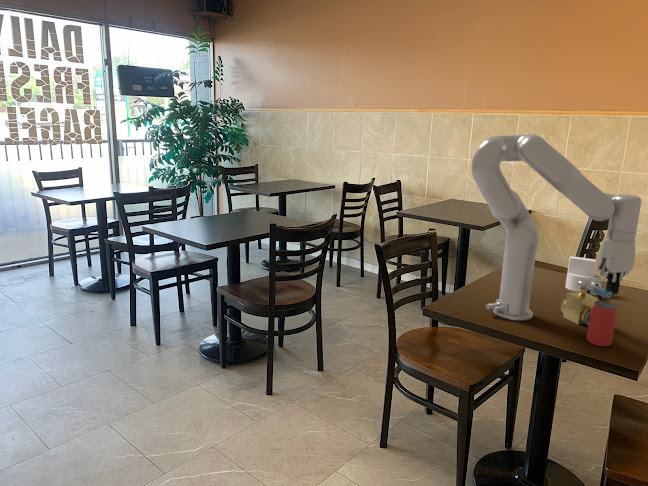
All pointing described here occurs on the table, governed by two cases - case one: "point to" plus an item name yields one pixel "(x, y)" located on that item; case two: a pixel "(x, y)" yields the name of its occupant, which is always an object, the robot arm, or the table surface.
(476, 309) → the table surface
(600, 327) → the beer can
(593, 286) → the lever
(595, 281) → the valve
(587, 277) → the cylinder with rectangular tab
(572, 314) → the pipe valve
